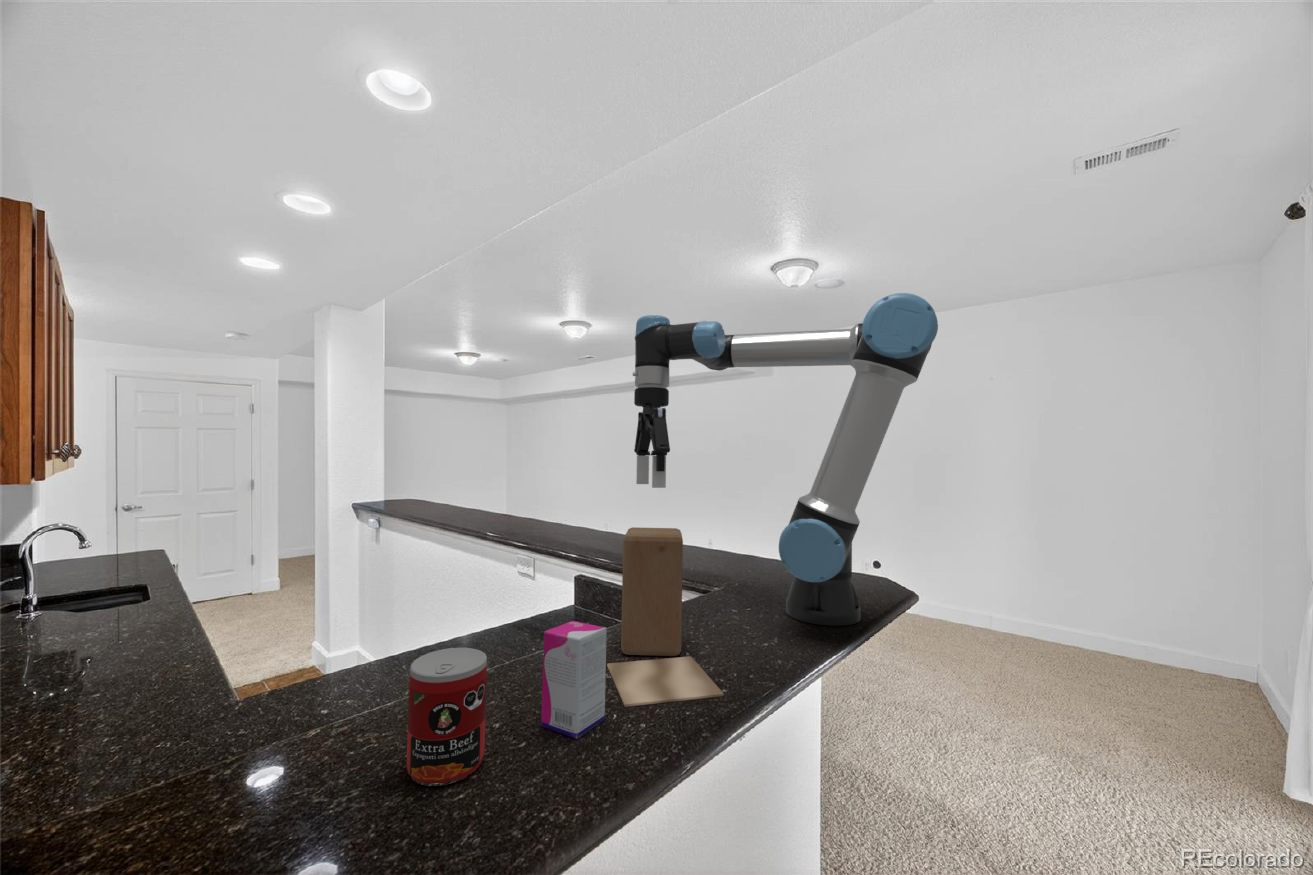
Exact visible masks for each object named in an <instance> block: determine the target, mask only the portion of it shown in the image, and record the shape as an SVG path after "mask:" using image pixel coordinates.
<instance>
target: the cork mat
mask: <svg viewBox="0 0 1313 875" xmlns="http://www.w3.org/2000/svg"><path fill="white" fill-rule="evenodd" d="M606 667H607V669H608V671H609V674H610V676H611V679H612V681H613V683H614V685H615V687H616V689H617V692H618V694H619V697H620V699H621V701H622V703H623V706H624V707H626V708H627V707H628V708H629V707H636V706H645V705H655V704H656V705H657V704H661V703H663V704H664V703H671V702H672V703H673V702H683V701H691V700H698V699H699V700H700V699H701V700H702V699H709V698H717V697H724V696H725V694H724V692H723V691H722V690H721V689H720V687H718V686H717V684H716V683H715V681H713V679H712V678H711V677H710V676H709V675H708V674H707V673H706V672H705V670H704V669H703V668H702V667H701V666H700V665H699V663H698V662H696V660H695V658H694V657H692V656H681V657H669V658H667V657H666V658H656V659H645V660H643V659H642V660H635V661H634V660H632V661H623V662H612V663H611V662H610V663H606Z"/></svg>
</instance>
